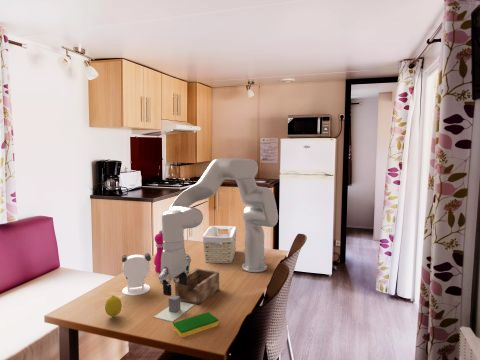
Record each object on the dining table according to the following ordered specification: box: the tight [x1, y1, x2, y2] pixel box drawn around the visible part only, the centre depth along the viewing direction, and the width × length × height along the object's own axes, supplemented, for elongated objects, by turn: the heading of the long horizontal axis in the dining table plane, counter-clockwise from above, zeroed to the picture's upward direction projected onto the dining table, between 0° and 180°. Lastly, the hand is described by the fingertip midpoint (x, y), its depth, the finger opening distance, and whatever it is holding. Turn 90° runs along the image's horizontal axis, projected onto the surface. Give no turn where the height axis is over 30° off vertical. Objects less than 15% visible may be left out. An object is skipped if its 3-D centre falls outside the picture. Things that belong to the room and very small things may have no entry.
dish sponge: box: [172, 311, 219, 338], centre depth 118 cm, size 7×14×2 cm, turn 125°
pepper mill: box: [153, 229, 163, 273], centre depth 170 cm, size 7×7×20 cm
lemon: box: [104, 295, 123, 318], centre depth 124 cm, size 6×6×8 cm
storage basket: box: [202, 225, 237, 264], centre depth 191 cm, size 24×16×15 cm
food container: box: [173, 253, 192, 283], centre depth 160 cm, size 12×6×10 cm, turn 168°
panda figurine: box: [121, 252, 152, 297], centre depth 148 cm, size 12×11×15 cm
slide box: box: [174, 268, 220, 306], centre depth 143 cm, size 16×11×8 cm
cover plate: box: [153, 294, 195, 323], centre depth 129 cm, size 14×8×6 cm, turn 155°
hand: (175, 289), depth 129 cm, fingers open, 9 cm apart
